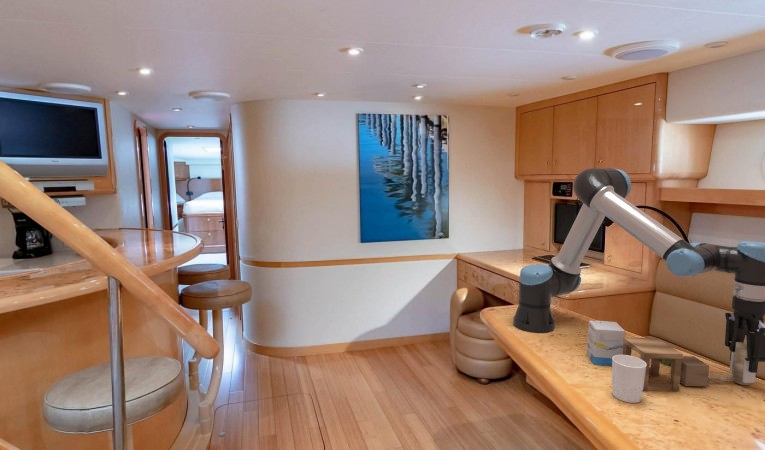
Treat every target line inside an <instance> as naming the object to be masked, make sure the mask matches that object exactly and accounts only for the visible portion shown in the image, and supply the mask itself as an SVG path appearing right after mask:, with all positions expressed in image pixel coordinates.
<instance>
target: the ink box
mask: <svg viewBox="0 0 765 450" xmlns="http://www.w3.org/2000/svg"><path fill="white" fill-rule="evenodd" d="M624 338H626V330H625V329H623V328H622V326H620V325H619V323H618V322H617V321H606V320H588V331H587V346H586V355H587V356H588V358H589V359H590V361H591V362H592V364H593V365H595V366H596V365H598V366H606V367H607V366H608V367H609V366H610V367H612V357H613V356H615V355H623V344H624V342H623V339H624Z"/></svg>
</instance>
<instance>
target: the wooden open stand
mask: <svg viewBox="0 0 765 450" xmlns="http://www.w3.org/2000/svg"><path fill="white" fill-rule="evenodd" d="M623 342H624V344H623V355H629V356H632V352H633V351H634V352H636V353H637V354H639V355H640V358H639V359H641V360H643V361H645V362H646V364H647V366H646V373H645V381H644V387H643V391H642V392H648V391H653V392H654V391H655V392H657V391H658V392H659V391H660V392H661V391H663V392H674V393H675V392H678V393H679V392H680V384H681V383H680V374H681V363H682V358H683V356H684V354H683V353H682V352H681V351H679V350H677V349H676V348H675V347H673V346H671V345H670V344H669V343H667V342H665V341H664V340H663V339H660V338H658V337H625V338H624V339H623ZM632 350H633V351H632ZM660 358H663V359H672V362H671V366H670V375H669V376H670V377H669V381H666V382H664V381H649V377H650V376H653V377H659V376H660V367H661V359H660Z"/></svg>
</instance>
